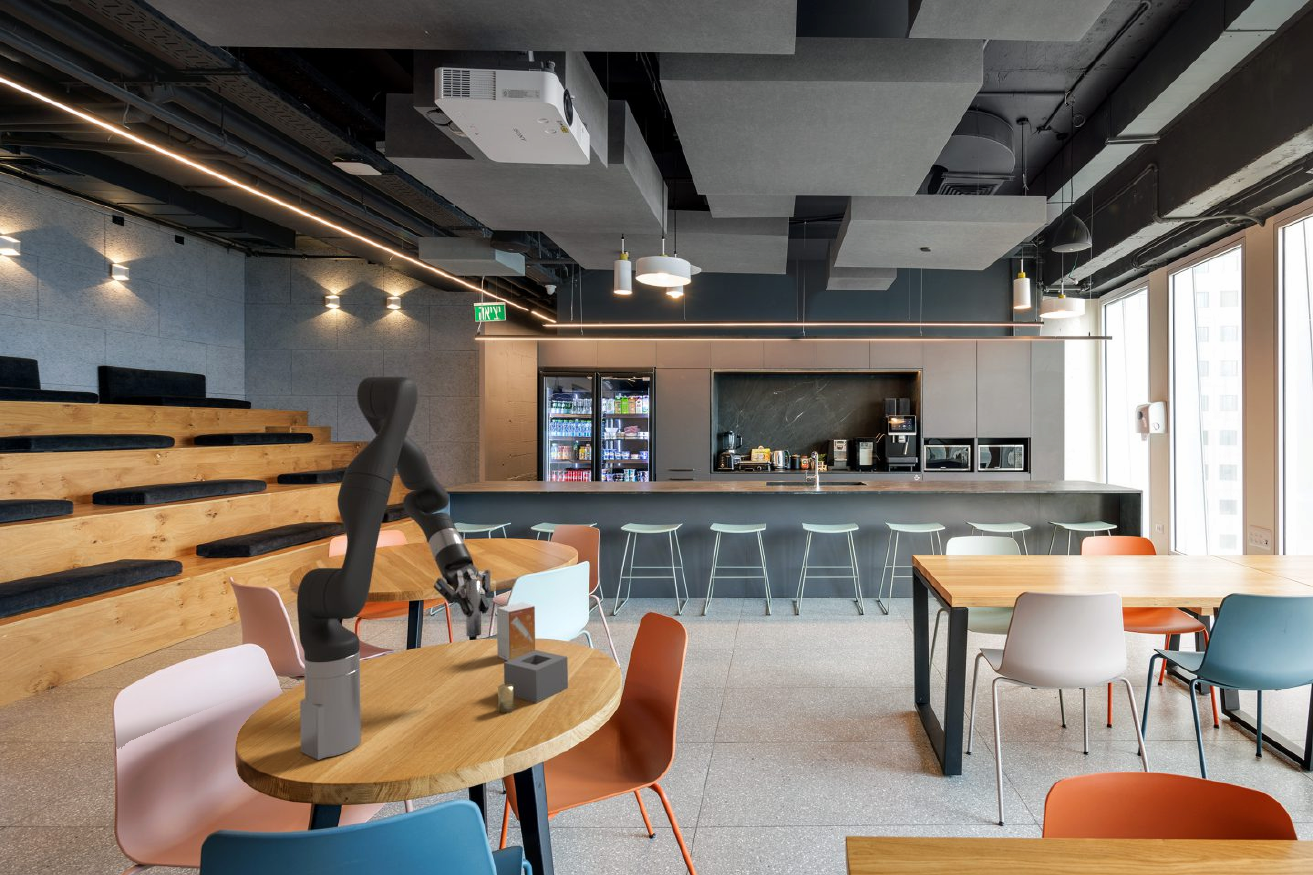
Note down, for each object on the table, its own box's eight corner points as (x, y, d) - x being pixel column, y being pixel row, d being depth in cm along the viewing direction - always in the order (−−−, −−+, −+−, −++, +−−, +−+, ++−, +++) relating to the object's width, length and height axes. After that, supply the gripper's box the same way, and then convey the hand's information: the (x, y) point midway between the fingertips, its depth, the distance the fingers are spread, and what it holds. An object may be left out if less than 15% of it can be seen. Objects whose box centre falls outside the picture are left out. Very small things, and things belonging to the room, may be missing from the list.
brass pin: (505, 714, 130) (505, 690, 130) (495, 711, 132) (494, 687, 132) (517, 709, 133) (516, 685, 133) (506, 706, 134) (506, 682, 134)
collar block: (536, 702, 135) (536, 670, 136) (504, 693, 141) (503, 662, 141) (568, 687, 144) (567, 656, 144) (536, 679, 149) (535, 649, 149)
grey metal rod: (473, 637, 138) (472, 582, 139) (463, 635, 140) (462, 581, 140) (484, 633, 141) (483, 580, 141) (474, 631, 143) (473, 578, 143)
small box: (509, 662, 162) (508, 611, 162) (497, 656, 167) (496, 607, 167) (536, 654, 168) (535, 605, 168) (523, 649, 172) (522, 601, 172)
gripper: (426, 546, 141) (455, 609, 132) (482, 538, 151) (512, 596, 143) (416, 566, 145) (443, 629, 136) (471, 558, 155) (499, 616, 146)
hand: (478, 612), depth 139 cm, fingers closed on grey metal rod, 3 cm apart
